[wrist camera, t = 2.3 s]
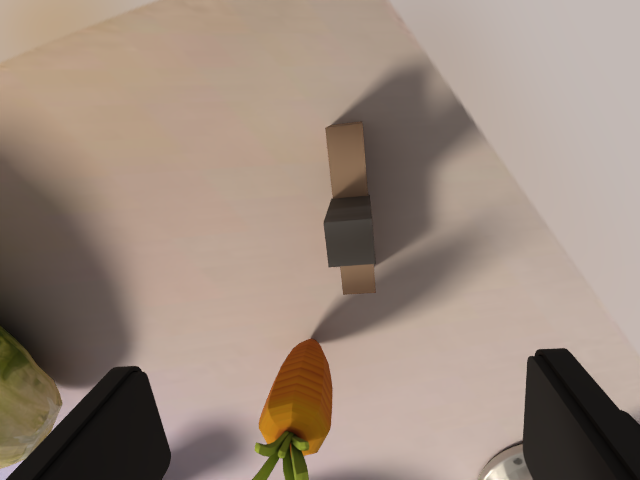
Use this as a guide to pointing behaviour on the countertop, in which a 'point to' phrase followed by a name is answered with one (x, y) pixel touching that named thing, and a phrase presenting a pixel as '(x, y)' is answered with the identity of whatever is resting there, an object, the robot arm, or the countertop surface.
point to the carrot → (296, 412)
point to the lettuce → (23, 402)
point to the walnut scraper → (349, 210)
